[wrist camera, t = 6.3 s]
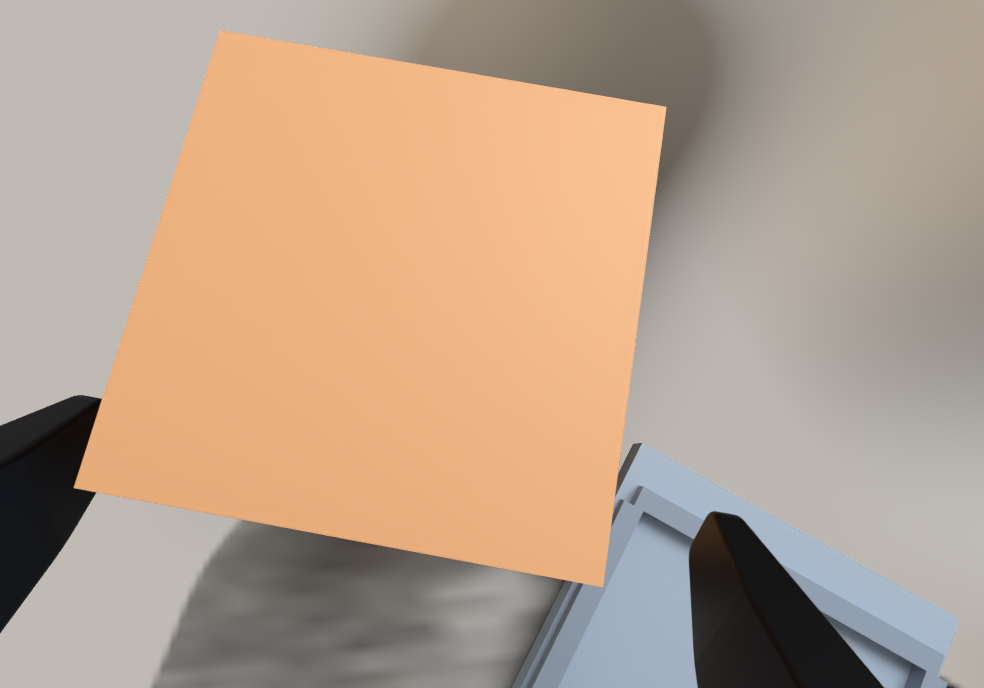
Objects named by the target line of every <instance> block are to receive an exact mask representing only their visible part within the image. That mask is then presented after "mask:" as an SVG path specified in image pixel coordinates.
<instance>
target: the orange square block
mask: <svg viewBox="0 0 984 688" xmlns="http://www.w3.org/2000/svg"><path fill="white" fill-rule="evenodd" d="M665 114H666V107H663V106H658V105H652V104H646V103H640V102H634V101H629V100H622V99H617V98H611V97H605V96H599V95H594V94H588V93H582V92H576V91H570V90H564V89H559V88H553V87H547V86H541V85H535V84H529V83H523V82H517V81H512V80H506V79H500V78H494V77H489V76H483V75H477V74H471V73H465V72H459V71H454V70H448V69H442V68H436V67H430V66H425V65H419V64H413V63H407V62H401V61H395V60H389V59H383V58H378V57H372V56H366V55H360V54H354V53H348V52H342V51H337V50H331V49H325V48H320V47H314V46H308V45H302V44H296V43H290V42H285V41H279V40H273V39H267V38H261V37H255V36H249V35H244V34H238V33H232V32H226V31H220V32H219V35H218V39H217V42H216V44H215V48H214V51H213V54H212V57H211V60H210V63H209V66H208V69H207V73H206V76H205V79H204V82H203V85H202V89H201V92H200V94H199V98H198V101H197V104H196V107H195V110H194V113H193V116H192V120H191V123H190V126H189V129H188V132H187V135H186V138H185V141H184V145H183V148H182V151H181V154H180V157H179V160H178V163H177V166H176V170H175V173H174V176H173V179H172V182H171V185H170V188H169V192H168V195H167V198H166V201H165V204H164V207H163V210H162V213H161V216H160V220H159V223H158V226H157V230H156V232H155V235H154V239H153V241H152V245H151V248H150V251H149V254H148V257H147V260H146V263H145V266H144V270H143V273H142V276H141V279H140V282H139V285H138V289H137V292H136V295H135V298H134V301H133V304H132V307H131V310H130V313H129V317H128V320H127V323H126V326H125V329H124V332H123V336H122V339H121V342H120V345H119V348H118V351H117V354H116V357H115V360H114V363H113V367H112V370H111V373H110V376H109V379H108V382H107V385H106V388H105V392H104V395H103V398H102V401H101V404H100V407H99V410H98V413H97V417H96V420H95V423H94V426H93V429H92V432H91V435H90V438H89V442H88V445H87V448H86V451H85V454H84V457H83V460H82V464H81V467H80V470H79V473H78V476H77V479H76V482H75V485H74V488H76V489H81V490H87V491H92V492H98V493H103V494H108V495H114V496H119V497H124V498H129V499H135V500H140V501H145V502H151V503H156V504H162V505H167V506H172V507H178V508H183V509H189V510H194V511H199V512H204V513H210V514H215V515H220V516H226V517H231V518H236V519H242V520H247V521H252V522H258V523H263V524H268V525H274V526H279V527H284V528H290V529H295V530H300V531H306V532H311V533H316V534H322V535H327V536H332V537H338V538H343V539H348V540H354V541H359V542H364V543H370V544H375V545H380V546H386V547H391V548H396V549H402V550H407V551H412V552H418V553H423V554H428V555H434V556H439V557H444V558H450V559H455V560H460V561H466V562H471V563H476V564H482V565H487V566H492V567H498V568H503V569H508V570H514V571H519V572H524V573H530V574H535V575H540V576H546V577H551V578H556V579H562V580H567V581H572V582H578V583H583V584H588V585H594V586H599V587H603V584H604V577H605V569H606V561H607V554H608V546H609V539H610V531H611V523H612V516H613V508H614V501H615V493H616V485H617V478H618V470H619V463H620V455H621V448H622V440H623V432H624V425H625V417H626V409H627V401H628V394H629V387H630V378H631V372H632V364H633V356H634V349H635V341H636V334H637V326H638V317H639V310H640V303H641V296H642V288H643V280H644V273H645V265H646V258H647V250H648V242H649V235H650V227H651V220H652V212H653V205H654V196H655V189H656V182H657V174H658V167H659V159H660V151H661V144H662V136H663V129H664V121H665Z"/></svg>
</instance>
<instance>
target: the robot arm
mask: <svg viewBox="0 0 984 688" xmlns="http://www.w3.org/2000/svg"><path fill="white" fill-rule="evenodd" d="M101 401H102V399H100V398H95V397H89V396H84V395H77V396H73V397H70V398H68V399H65V400H63V401H60V402H58V403H55V404H53V405H51V406H48V407H46V408H43V409H41V410H38V411H36V412H33V413H31V414H28V415H26V416H23V417H21V418H18V419H16V420H13V421H11V422H8V423H6V424H4V425H1V426H0V633H1V632H2V630H3V629H4V627H5V626H6V624H7V623H8V622H9V621H10V619H11V618H12V617H13V615H14V614H15V613H16V611H17V610H18V608H19V607H20V606H21V604H22V603H23V602H24V600H25V599H26V598H27V596H28V595H29V593H30V592H31V591H32V589H33V588H34V587H35V585H36V584H37V583H38V581H39V580H40V579H41V577H42V576H43V574H44V573H45V572H46V570H47V569H48V568H49V566H50V565H51V564H52V562H53V561H54V559H55V558H56V557H57V555H58V554H59V552H60V551H61V549H62V548H63V546H64V545H65V543H66V542H67V540H68V539H69V537H70V536H71V534H72V532H73V531H74V529H75V527H76V526H77V524H78V523H79V521H80V519H81V517H82V516H83V514H84V512H85V511H86V509H87V507H88V506H89V504H90V502H91V500H92V499H93V497H94V496H95V494H96V492H92V491H87V490H81V489H76V488H74V485H75V482H76V479H77V476H78V473H79V470H80V467H81V464H82V460H83V457H84V454H85V451H86V448H87V445H88V442H89V438H90V435H91V432H92V429H93V426H94V423H95V420H96V417H97V413H98V410H99V407H100V404H101ZM689 577H690V597H691V616H692V636H693V652H694V665H695V672H696V680H697V687H698V688H884V687H883V685H882V684H881V683H880V682H879V681H878V679H877V678H876V677H875V676H874V675H873V673H872V672H871V671H870V670H869V669H868V667H867V666H866V665H865V664H864V663H863V661H862V660H861V659H860V658H859V657H858V656H857V654H856V653H855V652H854V651H853V650H852V648H851V647H850V646H849V645H848V644H847V642H846V641H845V640H844V639H843V638H842V636H841V635H840V634H839V633H838V632H837V630H836V629H835V628H834V627H833V626H832V625H831V623H830V622H829V621H828V620H827V619H826V617H825V616H824V615H823V614H822V613H821V611H820V610H819V609H818V608H817V607H816V605H815V604H814V603H813V602H812V601H811V599H810V598H809V597H808V596H807V595H806V594H805V592H804V591H803V590H802V589H801V588H800V586H799V585H798V584H797V583H796V582H795V580H794V579H793V578H792V577H791V576H790V574H789V573H788V572H787V571H786V570H785V568H784V567H783V566H782V565H781V564H780V563H779V561H778V560H777V559H776V558H775V557H774V555H773V554H772V553H771V552H770V551H769V549H768V548H767V547H766V546H765V545H764V543H763V542H762V541H761V540H760V539H759V537H758V536H757V535H756V534H755V533H754V532H753V530H752V529H751V528H750V527H749V526H748V524H747V523H746V522H745V521H744V520H743V519H742V518H741V517H739V516H737V515H734V514H728V513H723V512H717V511H712V512H710V513H709V514H708V515H707V516H706V518H705V520H704V522H703V524H702V525H701V527H700V529H699V531H698V533H697V535H696V536H695V538H694V540H693V542H692V544H691V547H690V551H689Z"/></svg>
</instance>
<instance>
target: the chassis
mask: <svg viewBox="0 0 984 688" xmlns="http://www.w3.org/2000/svg"><path fill="white" fill-rule="evenodd" d="M712 511H717V512H723V513H728V514H734V515H737V516H739V517H741V518H742V519H743V520H744V521H745V522H746V523H747V524H748V526H749V527H750V528H751V529H752V530H753V532H754V533H755V534H756V535H757V536H758V537H759V539H760V540H761V541H762V542H763V543H764V545H765V546H766V547H767V548H768V549H769V551H770V552H771V553H772V554H773V555H774V557H775V558H776V559H777V560H778V561H779V563H780V564H781V565H782V566H783V567H784V568H785V570H786V571H787V572H788V573H789V574H790V576H791V577H792V578H793V579H794V580H795V582H796V583H797V584H798V585H799V586H800V588H801V589H802V590H803V591H804V592H805V594H806V595H807V596H808V597H809V598H810V599H811V601H812V602H813V603H814V604H815V605H816V607H817V608H818V609H819V610H820V611H821V613H822V614H823V615H824V616H825V617H826V619H827V620H828V621H829V622H830V623H831V625H832V626H833V627H834V628H835V629H836V630H837V632H838V633H839V634H840V635H841V636H842V638H843V639H844V640H845V641H846V642H847V644H848V645H849V646H850V647H851V648H852V650H853V651H854V652H855V653H856V654H857V656H858V657H859V658H860V659H861V660H862V661H863V663H864V664H865V665H866V666H867V667H868V669H869V670H870V671H871V672H872V673H873V675H874V676H875V677H876V678H877V679H878V681H879V682H880V683H881V684H882V685H883V687H884V688H946V686H947V682H945V681H944V680H942V679H940V678H939V675H940V672H941V669H942V667H943V664H944V661H945V658H946V655H947V652H948V650H949V647H950V644H951V641H952V639H953V636H954V633H955V630H956V627H957V625H958V622H959V618H957V617H955V616H953V615H951V614H950V613H948V612H946V611H944V610H943V609H941V608H939V607H937V606H935V605H933V604H932V603H930V602H928V601H926V600H925V599H923V598H921V597H919V596H917V595H915V594H914V593H912V592H910V591H908V590H906V589H905V588H903V587H901V586H899V585H897V584H896V583H894V582H892V581H890V580H888V579H887V578H885V577H883V576H881V575H879V574H878V573H876V572H874V571H872V570H870V569H869V568H867V567H865V566H863V565H861V564H860V563H858V562H856V561H854V560H852V559H850V558H849V557H847V556H845V555H843V554H841V553H839V552H838V551H836V550H834V549H833V548H831V547H829V546H827V545H825V544H823V543H822V542H820V541H818V540H816V539H814V538H812V537H811V536H809V535H807V534H805V533H804V532H802V531H800V530H798V529H796V528H795V527H793V526H791V525H789V524H787V523H786V522H784V521H782V520H780V519H778V518H776V517H774V516H773V515H771V514H769V513H768V512H766V511H764V510H762V509H760V508H758V507H757V506H755V505H753V504H751V503H749V502H748V501H746V500H744V499H742V498H741V497H739V496H737V495H735V494H733V493H732V492H730V491H728V490H726V489H724V488H722V487H720V486H719V485H717V484H715V483H713V482H712V481H710V480H708V479H706V478H704V477H703V476H701V475H699V474H697V473H695V472H694V471H692V470H690V469H688V468H686V467H685V466H683V465H681V464H679V463H677V462H676V461H674V460H672V459H670V458H668V457H667V456H665V455H663V454H661V453H659V452H658V451H656V450H654V449H652V448H650V447H649V446H647V445H645V444H643V443H637V444H633V445H632V448H631V449H630V451H629V454H628V455H627V457H626V459H625V461H624V464H623V465H622V467H621V470H620V472H619V474H618V478H617V485H616V493H615V501H614V508H613V516H612V523H611V531H610V539H609V546H608V554H607V561H606V569H605V577H604V584H603V587H599V586H594V585H588V584H583V583H578V582H572V581H567V580H565V582H564V584H563V586H562V588H561V590H560V592H559V594H558V596H557V598H556V600H555V602H554V604H553V606H552V608H551V610H550V612H549V614H548V616H547V618H546V620H545V622H544V624H543V626H542V628H541V630H540V632H539V634H538V636H537V638H536V640H535V642H534V644H533V646H532V648H531V650H530V652H529V654H528V656H527V658H526V660H525V662H524V664H523V666H522V668H521V670H520V672H519V674H518V676H517V678H516V680H515V682H514V684H513V686H512V688H698V687H697V680H696V672H695V665H694V652H693V636H692V616H691V597H690V577H689V551H690V547H691V544H692V542H693V540H694V538H695V536H696V535H697V533H698V531H699V529H700V527H701V525H702V524H703V522H704V520H705V518H706V516H707V515H708V514H709V513H710V512H712Z"/></svg>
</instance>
